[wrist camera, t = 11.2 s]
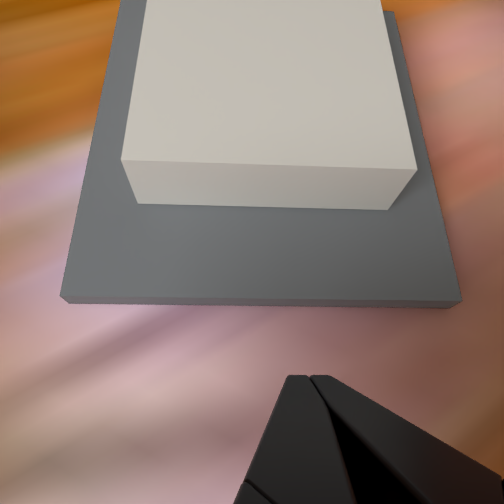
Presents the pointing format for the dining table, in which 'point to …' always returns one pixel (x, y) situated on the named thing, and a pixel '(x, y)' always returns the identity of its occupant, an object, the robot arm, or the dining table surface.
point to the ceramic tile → (267, 106)
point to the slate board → (249, 228)
